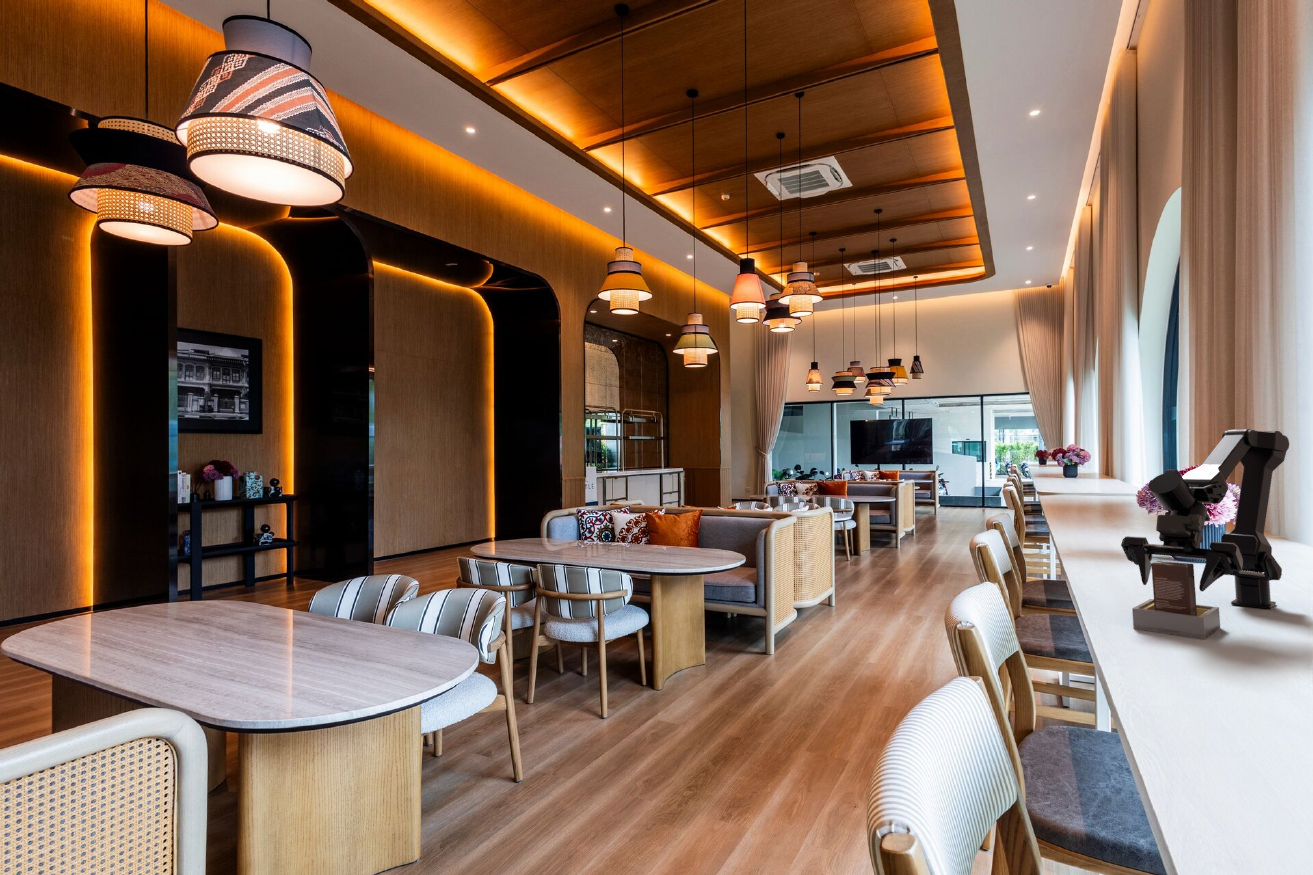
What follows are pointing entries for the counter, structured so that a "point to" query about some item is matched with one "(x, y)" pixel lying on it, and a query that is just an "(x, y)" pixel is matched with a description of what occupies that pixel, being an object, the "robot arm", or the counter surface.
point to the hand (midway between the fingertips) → (1171, 586)
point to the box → (1174, 587)
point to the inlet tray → (1177, 621)
